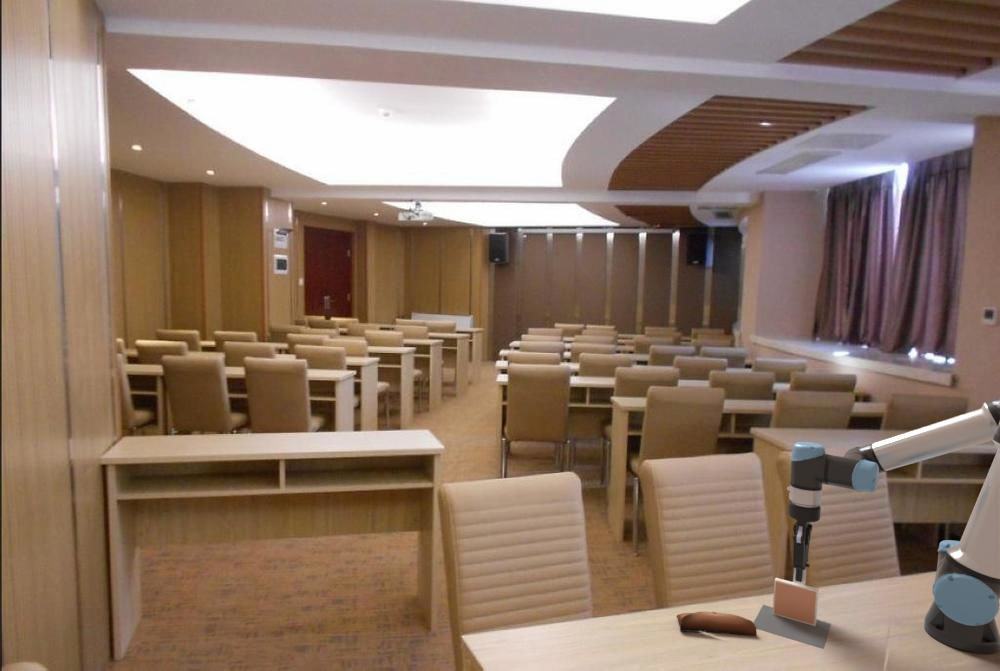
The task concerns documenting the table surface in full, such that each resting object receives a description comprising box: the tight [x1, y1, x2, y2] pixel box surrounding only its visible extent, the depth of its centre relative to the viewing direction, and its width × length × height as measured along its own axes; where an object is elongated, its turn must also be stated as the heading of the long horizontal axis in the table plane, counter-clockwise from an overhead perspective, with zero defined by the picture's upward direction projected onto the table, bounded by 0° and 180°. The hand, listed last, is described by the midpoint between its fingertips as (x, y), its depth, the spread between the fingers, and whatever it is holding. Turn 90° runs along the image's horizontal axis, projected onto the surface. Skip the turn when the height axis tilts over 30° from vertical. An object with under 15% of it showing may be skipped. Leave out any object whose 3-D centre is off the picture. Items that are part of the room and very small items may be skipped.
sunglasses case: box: [676, 611, 758, 637], centre depth 157 cm, size 18×7×7 cm, turn 84°
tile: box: [772, 577, 820, 626], centre depth 161 cm, size 10×2×9 cm, turn 56°
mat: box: [753, 604, 832, 650], centre depth 158 cm, size 16×14×1 cm
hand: (798, 591), depth 166 cm, fingers closed
